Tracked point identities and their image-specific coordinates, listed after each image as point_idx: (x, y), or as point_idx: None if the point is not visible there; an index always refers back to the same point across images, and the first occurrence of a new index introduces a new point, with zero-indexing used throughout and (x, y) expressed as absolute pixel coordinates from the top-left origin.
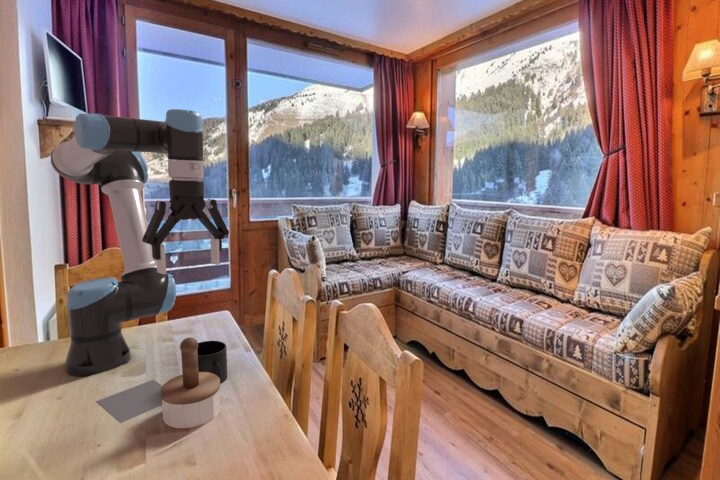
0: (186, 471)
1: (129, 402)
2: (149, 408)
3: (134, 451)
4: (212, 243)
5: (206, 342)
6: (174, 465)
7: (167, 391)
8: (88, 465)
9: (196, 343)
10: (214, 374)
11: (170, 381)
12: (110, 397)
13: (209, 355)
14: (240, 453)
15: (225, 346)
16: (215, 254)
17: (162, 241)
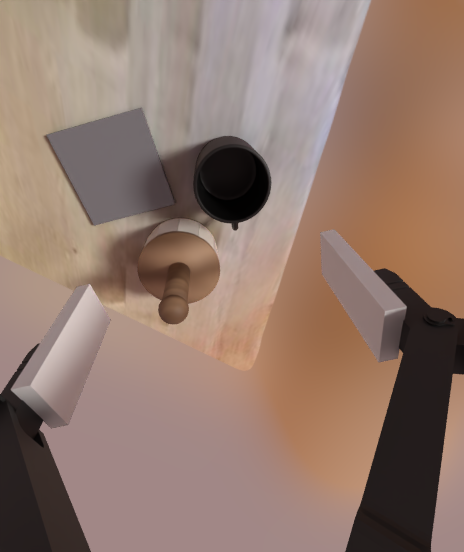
0: (158, 329)
1: (102, 174)
2: (130, 211)
3: (114, 281)
4: (366, 305)
5: (243, 149)
6: (149, 318)
7: (146, 271)
8: (70, 279)
9: (184, 319)
10: (217, 260)
11: (153, 245)
12: (69, 135)
13: (225, 222)
14: (206, 331)
15: (265, 201)
16: (338, 293)
17: (47, 449)
